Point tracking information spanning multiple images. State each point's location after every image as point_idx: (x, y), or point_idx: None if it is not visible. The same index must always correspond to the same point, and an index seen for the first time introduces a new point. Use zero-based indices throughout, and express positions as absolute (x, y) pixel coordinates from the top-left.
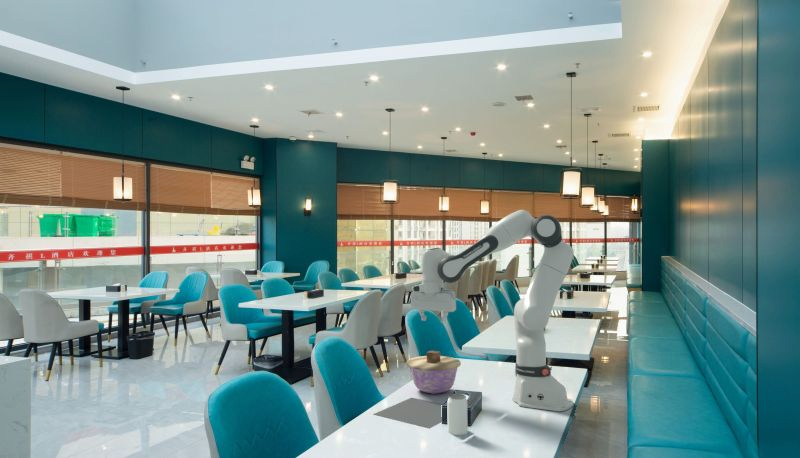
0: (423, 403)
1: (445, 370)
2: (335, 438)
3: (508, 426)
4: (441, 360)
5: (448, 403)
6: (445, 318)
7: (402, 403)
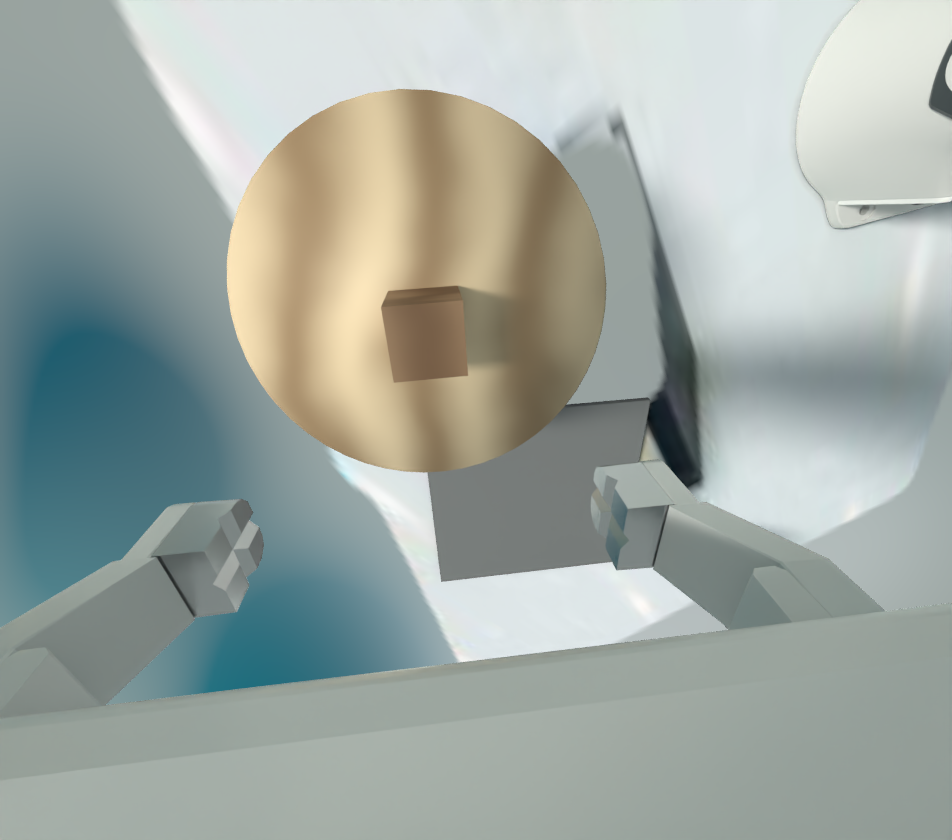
0: None
1: None
2: None
3: (802, 427)
4: (447, 254)
5: None
6: (687, 505)
7: (442, 482)
